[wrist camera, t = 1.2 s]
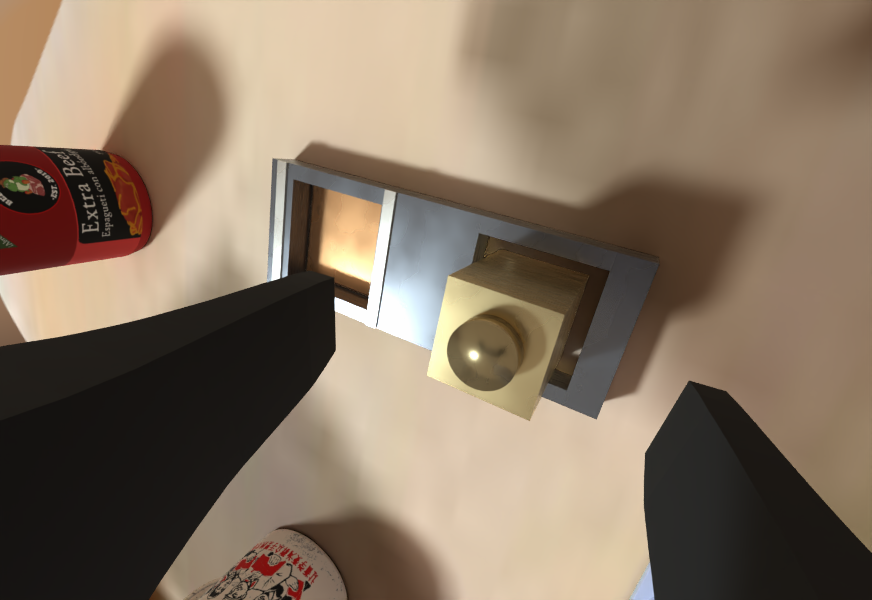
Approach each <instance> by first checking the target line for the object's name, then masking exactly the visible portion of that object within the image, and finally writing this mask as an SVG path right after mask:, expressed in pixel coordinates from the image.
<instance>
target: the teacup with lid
mask: <svg viewBox="0 0 872 600" xmlns="http://www.w3.org/2000/svg"><path fill="white" fill-rule="evenodd" d="M184 600H347V594H346V589H345V586H344V583H343V580H342V578H341V575H340V573H339V571H338V570H337V568H336V566H335V565H334V563H333V562H332V560H331V559H330V558H329V557H328V555H327V554H326V553H325V552H324V551H323V550H322V549H321V548H320V547H319V546H318V545H317V544H316V543H315V542H313V541H312V540H311V539H309V538H308V537H306V536H304V535H302V534H300V533H298V532H296V531H293V530H288V529H278V530H275V531H272V532H270V533H269V534H268V535H266V536H265V537H264V538H263V539H262V540H261V541H260V542H259V543H258V544H257V545H256V546H255V547H254V548H253V549H252V550H250V551H249V552H248V553H247V554H246V555H245V556H244V557H243V558H242V559H241V560H240V561H239V562H238V563H237V564H236V565H234V566H233V567H232V568H231V569H230V570H229V571H228V572H227V573H226V574H225V575H224V576H223V577H222V578H218V579H215V580H213V581H210V582H208V583H206V584H204V585H203V586H201V587H199V588H198V589H196V590H195V591H193V592H192V593H191V594H189V595H188V596H187V597H186V598H185V599H184Z"/></svg>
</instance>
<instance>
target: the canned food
mask: <svg viewBox="0 0 872 600" xmlns="http://www.w3.org/2000/svg"><path fill="white" fill-rule="evenodd" d="M151 228H152V209H151V204H150V199H149V196H148V193H147V190H146V188H145V185H144V183H143V181H142V179H141V178H140V176H139V174H138V173H137V172H136V170H135V169H134V168H133V167H132V166H131V164H130V163H128V162H127V161H126V160H125V159H123V158H122V157H120V156H118V155H115V154H111V153H108V152H105V151H101V150H87V149H68V148H49V147H31V146H12V145H0V275H7V274H13V273H20V272H26V271H32V270H39V269H45V268H52V267H58V266H65V265H71V264H77V263H84V262H90V261H97V260H103V259H110V258H116V257H122V256H126V255H129V254H132V253H134V252H136V251H138V250H140V249H141V248H143V247H144V245H145V244H146V243H147V241H148V238H149V236H150V233H151Z"/></svg>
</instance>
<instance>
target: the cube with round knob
mask: <svg viewBox="0 0 872 600" xmlns="http://www.w3.org/2000/svg"><path fill="white" fill-rule="evenodd" d="M588 277H589V275H587V274H583V273H580V272H577V271H573V270H570V269H567V268H563V267H560V266H557V265H553V264H550V263H547V262H543V261H540V260H536V259H533V258H530V257H526V256H523V255H520V254H516V253H513V252H510V251H506V250H503V249H501V250H499V251H497V252H495V253H493V254H491V255H489V256H487V257H485V258H483V259H481V260H479V261H477V262H475V263H473V264H471V265H469V266H467V267H464V268H462V269H460V270H458V271H456V272H454V273H452V274H450V275H448V279H447V283H446V288H445V293H444V297H443V302H442V307H441V312H440V316H439V321H438V326H437V330H436V335H435V340H434V345H433V349H432V354H431V359H430V363H429V368H428V373H427V376H429V377H431V378H434V379H436V380H438V381H440V382H443V383H445V384H447V385H449V386H452V387H454V388H456V389H459V390H461V391H463V392H465V393H468V394H470V395H472V396H474V397H477V398H479V399H481V400H483V401H486V402H488V403H490V404H492V405H495V406H497V407H499V408H501V409H504V410H506V411H508V412H511V413H513V414H515V415H517V416H520V417H522V418H524V419H526V420H529V421H530V419H531V417H532V415H533V413H534V411H535V409H536V407H537V405H538V403H539V401H540V399H541V397H542V395H543V392H544V390H545V388H546V386H547V384H548V382H549V380H550V378H551V376H552V374H553V372H554V370H555V368H556V366H557V364H558V362H559V360H560V358H561V356H562V353H563V350H564V347H565V344H566V341H567V338H568V336H569V333H570V330H571V327H572V324H573V321H574V318H575V315H576V312H577V309H578V306H579V303H580V301H581V298H582V295H583V292H584V289H585V286H586V283H587V280H588Z"/></svg>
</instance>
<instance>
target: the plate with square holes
mask: <svg viewBox="0 0 872 600" xmlns="http://www.w3.org/2000/svg"><path fill="white" fill-rule="evenodd" d="M313 185H314V190H313ZM312 191H313V202H312ZM311 204H312V215H311ZM310 216H311V227H310ZM309 229H310V240H309ZM489 236H491V237H494V238H498V239H501V240H505V241H508V242H512V243H515V244H519V245H522V246H526V247H529V248H532V249H536V250H539V251H543V252H546V253H550V254H553V255H557V256H560V257H564V258H567V259H570V260H574V261H577V262H581V263H584V264H588V265H591V266H595V267H598V268H602V269H605V270H608V271H610V273H609V276H608V279H607V281H606V284H605V287H604V290H603V292H602V295H601V298H600V301H599V303H598V306H597V309H596V312H595V314H594V317H593V320H592V323H591V326H590V328H589V331H588V334H587V337H586V339H585V342H584V345H583V348H582V350H581V353H580V356H579V359H578V361H577V364H576V367H575V370H574V373H573V375H572V376H570V375H568V374H565V373H562V372H560V371H557V370H554V372H553V374H552V376H551V378H550V380H549V382H548V384H547V386H546V388H545V390H544V392H543V395H542V397H544V398H546V399H549V400H551V401H554V402H556V403H558V404H561V405H563V406H566V407H568V408H570V409H573V410H575V411H578V412H580V413H582V414H585V415H587V416H590V417H592V418H594V419H597V417H598V415H599V412H600V410H601V407H602V405H603V402H604V400H605V397H606V395H607V392H608V390H609V387H610V385H611V382H612V380H613V378H614V375H615V373H616V370H617V368H618V365H619V363H620V360H621V358H622V355H623V353H624V350H625V348H626V345H627V343H628V340H629V338H630V335H631V333H632V331H633V328H634V326H635V323H636V321H637V318H638V316H639V313H640V311H641V308H642V306H643V303H644V301H645V298H646V296H647V293H648V291H649V288H650V286H651V284H652V281H653V279H654V276H655V274H656V271H657V269H658V266H659V257H656V256H652V255H649V254H645V253H641V252H638V251H634V250H630V249H626V248H623V247H619V246H615V245H611V244H608V243H604V242H600V241H596V240H593V239H589V238H585V237H581V236H578V235H574V234H570V233H567V232H563V231H559V230H555V229H552V228H548V227H544V226H540V225H537V224H533V223H529V222H525V221H522V220H518V219H514V218H510V217H507V216H503V215H499V214H496V213H492V212H488V211H484V210H481V209H477V208H473V207H469V206H466V205H462V204H458V203H454V202H451V201H447V200H443V199H439V198H436V197H432V196H428V195H425V194H421V193H417V192H413V191H410V190H406V189H402V188H398V187H395V186H391V185H387V184H383V183H380V182H376V181H372V180H368V179H365V178H361V177H357V176H354V175H350V174H346V173H342V172H339V171H335V170H331V169H327V168H324V167H320V166H316V165H312V164H309V163H305V162H301V161H297V160H294V159H274V158H273V162H272V185H271V207H270V229H269V252H268V274H267V282H269V281H273V280H276V279H279V278H282V277H286V276H289V275H293V274H297V273H301V272H305V271H306V266H307V271H313V272H317V273H320V274H324V275H327V276H331V277H334V282H335V283H338V284H340V285H343V286H345V287H348V288H351V289H353V290H356V291H358V292H361V293H363V294H366V295H369V297H367V296H364V295H362V294H359V293H356V292H354V291H351V290H349V289H346V288H343V287H341V286H338V285H336V284H334V285H335V311H337V312H340V313H342V314H344V315H347V316H349V317H352V318H354V319H356V320H359V321H361V322H364V323H366V325H368V326H371V327H373V328H378V329H380V330H383V331H385V332H388V333H390V334H392V335H395V336H397V337H400V338H402V339H404V340H407V341H409V342H412V343H414V344H417V345H419V346H421V347H424V348H426V349H429V350H431V351H432V349H433V345H434V340H435V335H436V330H437V326H438V321H439V316H440V312H441V307H442V302H443V297H444V293H445V288H446V283H447V279H448V275H450V274H452V273H454V272H456V271H458V270H460V269H462V268H464V267H467V266H469V265H471V264H473V263H475V262H477V261H479V260H481V259H483V258H484V253H485V249H486V245H487V241H488V237H489ZM308 241H309V252H308ZM307 254H308V264H307Z"/></svg>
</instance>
